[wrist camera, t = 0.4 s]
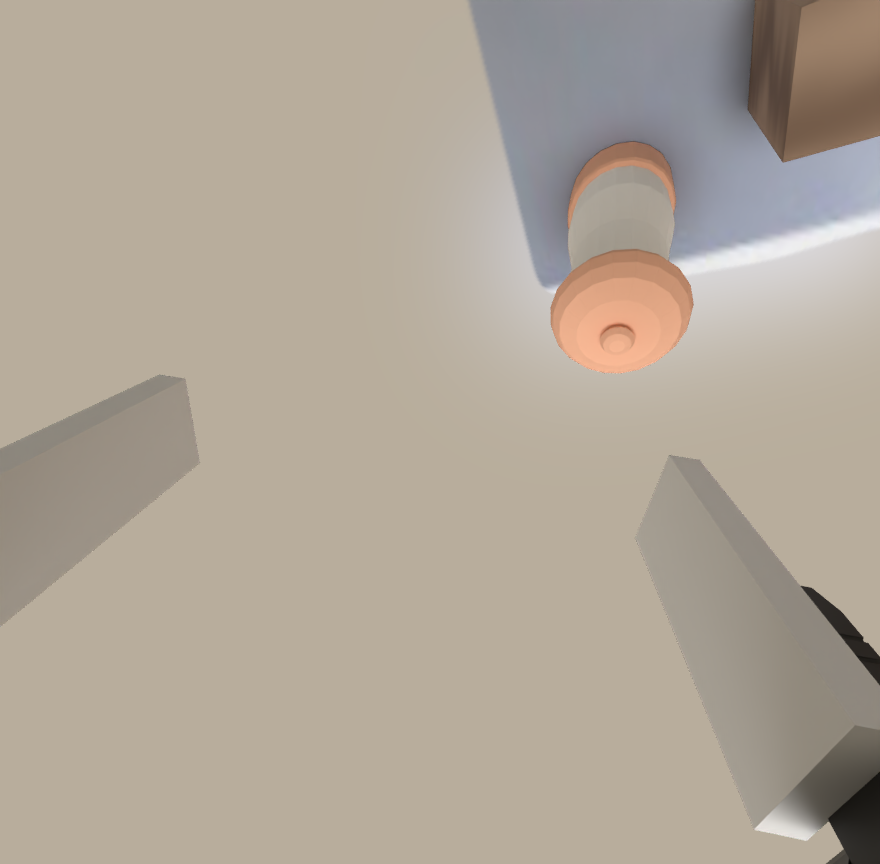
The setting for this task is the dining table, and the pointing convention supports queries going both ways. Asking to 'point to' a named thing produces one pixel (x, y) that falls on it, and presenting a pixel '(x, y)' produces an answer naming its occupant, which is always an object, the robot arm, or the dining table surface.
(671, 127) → the dining table surface
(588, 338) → the pepper shaker
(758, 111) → the walnut block
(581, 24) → the dining table surface
